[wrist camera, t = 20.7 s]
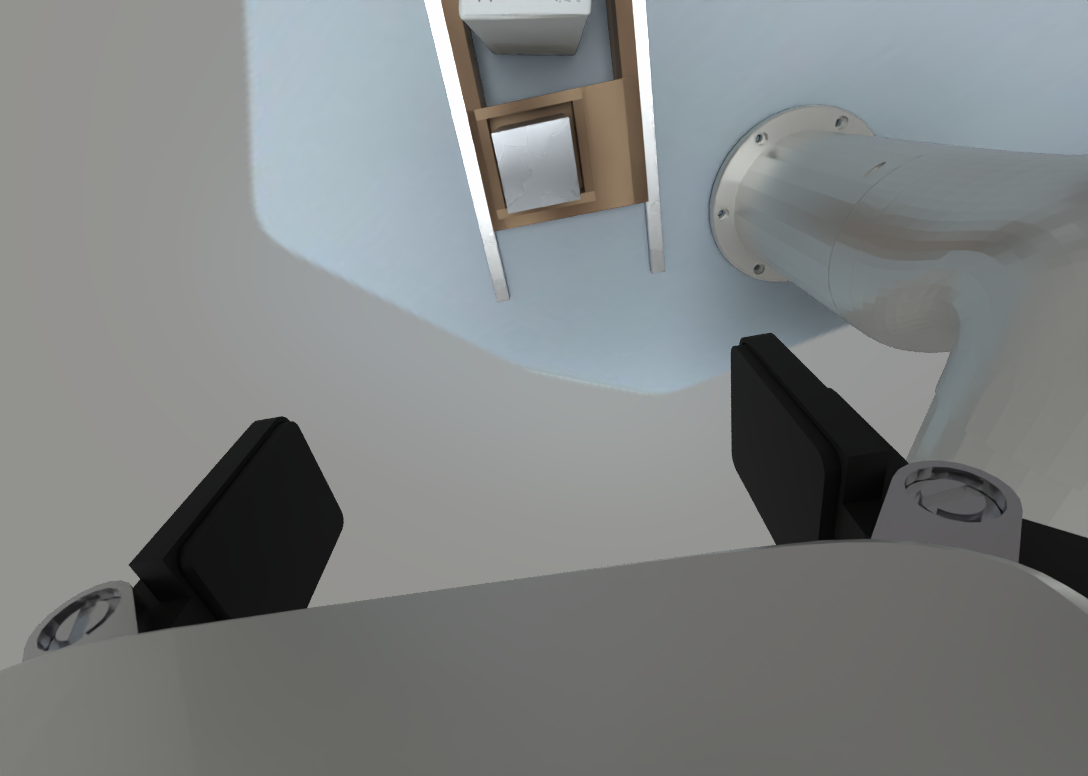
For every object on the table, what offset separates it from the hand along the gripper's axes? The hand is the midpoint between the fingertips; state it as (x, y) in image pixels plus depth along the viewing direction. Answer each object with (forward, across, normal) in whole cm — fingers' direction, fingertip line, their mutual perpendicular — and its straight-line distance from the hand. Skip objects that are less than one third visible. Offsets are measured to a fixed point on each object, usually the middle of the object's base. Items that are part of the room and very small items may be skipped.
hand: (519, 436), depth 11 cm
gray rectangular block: (+28, -1, -3) cm, 28 cm away
